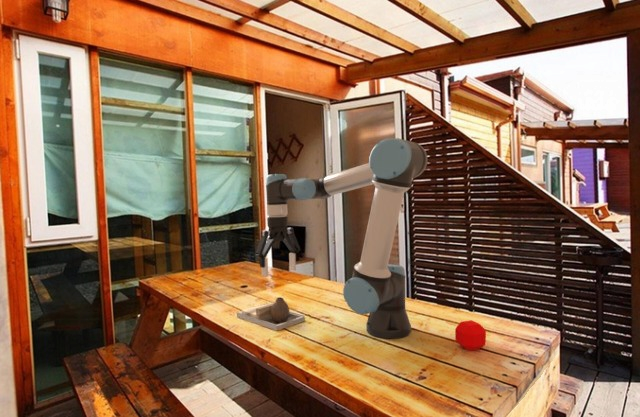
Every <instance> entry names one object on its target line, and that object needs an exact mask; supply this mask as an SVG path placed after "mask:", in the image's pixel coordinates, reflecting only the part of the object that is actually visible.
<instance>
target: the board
mask: <svg viewBox="0 0 640 417" xmlns="http://www.w3.org/2000/svg"><path fill="white" fill-rule="evenodd" d="M236 317H237V318H239V319H241V320H244V321H248V322H250V323H253V324H255V325H259V326H261V327H264V328H267V329H270V330H274V331H276V332H277V331H279V330H282V329H286V328H288V327H292V326H294V325H297V324H299V323H302V322H305V321H306V316H304V314H303V315H302V314H299V313H295V312H292V311H289V317H288V319H287V320H286V321H285V322H283V323H276V322H275V321H274V320H273V319H272V316H268V317H265V318H262V319H257V318H254V317H251V316H248V315H245V314H242V311H238V312H236Z"/></svg>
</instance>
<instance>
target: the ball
mask: <svg viewBox="0 0 640 417" xmlns="http://www.w3.org/2000/svg"><path fill="white" fill-rule="evenodd" d="M454 329H455V331H454V332H455V335H454V337H455V341H456V342H457V343H458V345H459V346H460V347H462V348H463V349H465V348H466V349H465V350H467V351H469V350H471V351H476V350H475V349H477V350H481V349H482V348H483V347H484V346H485V345H486V342H487V332H486V331H487V330H486V328H485V327H483V325H482V324H480V323H478V322H476V321H474V320H464V321H460V322H459V323H458V325H456V327H455V328H454ZM480 348H481V349H480Z"/></svg>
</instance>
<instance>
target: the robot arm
mask: <svg viewBox="0 0 640 417" xmlns="http://www.w3.org/2000/svg"><path fill="white" fill-rule="evenodd" d="M427 155H428V154H427V152H426V150H425V148H424V147H423V146H422V145H421V144H419V143H417V142H415V141H410V140H406V139H402V138H398V137H396V138H394V137H393V138H391V137H390V138H385V139H382V140H380V141H379V142H378V143H376V144H375V145H374V147H373V148H372V150H371V152H370V155H369V159H368V163H364V164H361V165H358V166H355V167H351V168H348V169H345V170H342V171H339V172H336V173H332V174H329V175H326V176H323V177H318V178H308V177H307V178H306V177H305V178H304V177H299V178H290V179H287V175H286V174H284V173H283V174H282V173H278V174H277V173H275V174H274V173H273V174H268V175H267V176H266V178H265V179H266V180H265V181H266V182H265V184H266V185H265V187H266V188H265V191H266V192H265V193H266V214H267V216H268V217H267V219H266V220H267V227H268V230H261V233H260V239H259V242H258V245H257V248H256V249H255V253H254V257H255V258H258V259H259V267H260V269H261V271H260V272H261V277H269V266H268V265H269V264H268V258H266V257H267V256H268V254H269V252H270V251H271V248H272V247H273V245H274V244H275V243H277V242H278V243H279V242H282V243H283V244H284V245H285V246H286V247H287V248H288V250H289V251H290V252H289V253H288V260H289V262H288V263H289V270H290V271H296V268H297V265H296V264H297V263H296V262H297V254H298V253H299V252H301V246H300V245H299V242H298V239H297V237H296V234H295V231H294V230H295V229H294V227H288V225H289V223H288V222H289V219H288V218H289V217H288V214H289V213H288V212H289V211H288V201H307V200H324V199H325V200H326V199H330V198H331V197H332V196H334V195H339V194H342V193H345V192H350V191H353V190H357V189H361V188H365V187H367V186H368V187H369V186H372V185H374V193H373V198H372V202H371V208H370V214H369V217H368V223H367V227H366V232H365V235H364V236H365V237H364V242H363V247H362V251H361V256H360V261H358V262H357V263H356V264H354V266H353V270H352V276H351V278H349V279H348V280H347V281H346V282H345V283H344V285H343V289H342V294H343V299H344V302H346V304H347V306H348V307H349V309H350V310H352V312H355V313H356V314H359V315H368V318H367V320H366V327H365V328H366V330H365V331H366V332H367V333H368V334H369V335H371V336H373V337H377V338H382V339H400V338H405V337H407V336H409V335H410V334H411V333H412V324H411V322H410V318H409V316H408V312H407V310H406V270H405V268H404V267H403V266H402V265H399V264H391V263H389V261H390V257H391V253H392V248H393V244H394V241H395V240H394V239H395V235H396V232H397V231H396V230H397V225H398V222H399V216H400V213H401V207H402V203H403V198H404V195H405V192H407V191H409V190H410V189H411V186H412V182H413V179H415V178H417V177H420V175H422V173H424V172H425V169H426V168H427V166H428V156H427Z"/></svg>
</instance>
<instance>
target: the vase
mask: <svg viewBox="0 0 640 417" xmlns="http://www.w3.org/2000/svg"><path fill="white" fill-rule="evenodd" d="M273 303H274V304H273ZM273 303H272V304H273V305H272V308H271V316H272V319H273V320H274V321H275V322H276V323H283V322H285V321H286V320H287V319H288V317H289V312H290V307H289V304H288V302H286V300H284V297H277V298H276V299H275V301H274V302H273Z"/></svg>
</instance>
